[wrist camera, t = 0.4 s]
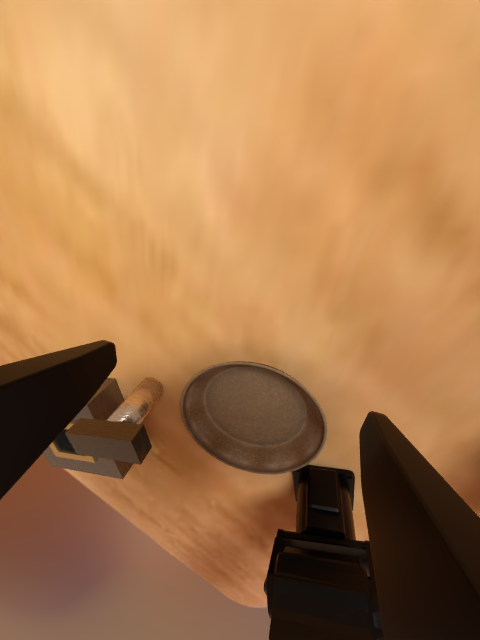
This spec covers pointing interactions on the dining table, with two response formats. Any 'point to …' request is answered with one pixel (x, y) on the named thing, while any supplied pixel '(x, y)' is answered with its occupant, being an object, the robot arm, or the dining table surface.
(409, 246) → the dining table surface
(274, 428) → the saucer
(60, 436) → the block
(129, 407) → the block
